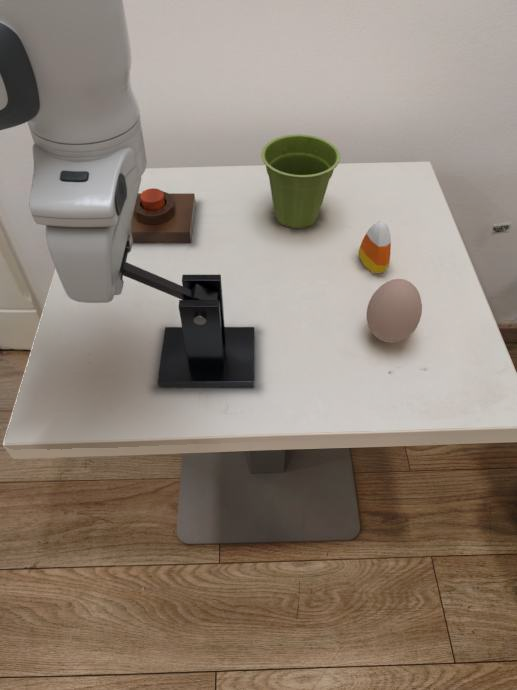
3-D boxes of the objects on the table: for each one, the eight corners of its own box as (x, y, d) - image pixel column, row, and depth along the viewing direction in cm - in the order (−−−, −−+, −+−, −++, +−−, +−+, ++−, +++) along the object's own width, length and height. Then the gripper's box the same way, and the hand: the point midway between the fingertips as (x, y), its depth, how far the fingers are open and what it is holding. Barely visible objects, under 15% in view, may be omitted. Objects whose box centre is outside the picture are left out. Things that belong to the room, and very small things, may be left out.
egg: (421, 347, 69) (441, 296, 61) (375, 360, 67) (390, 310, 60) (397, 311, 73) (413, 259, 65) (353, 322, 72) (364, 271, 64)
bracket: (158, 387, 65) (140, 320, 55) (166, 332, 70) (151, 262, 60) (254, 387, 65) (253, 320, 55) (254, 332, 70) (254, 262, 60)
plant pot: (346, 215, 86) (356, 153, 78) (298, 248, 81) (304, 186, 72) (293, 185, 92) (297, 125, 83) (246, 215, 86) (244, 153, 77)
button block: (115, 243, 82) (109, 222, 79) (125, 204, 88) (120, 184, 85) (191, 243, 82) (188, 222, 79) (195, 204, 88) (193, 184, 85)
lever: (103, 286, 54) (111, 272, 52) (111, 254, 57) (119, 240, 55) (206, 327, 59) (216, 315, 57) (208, 296, 62) (218, 283, 60)
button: (140, 211, 81) (138, 202, 80) (143, 197, 83) (141, 188, 82) (163, 211, 81) (162, 202, 80) (166, 197, 83) (164, 188, 82)
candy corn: (391, 273, 78) (403, 231, 71) (374, 279, 77) (385, 237, 71) (369, 249, 81) (379, 207, 75) (353, 255, 80) (361, 213, 74)
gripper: (80, 90, 51) (107, 208, 61) (21, 221, 38) (68, 341, 48) (145, 92, 51) (160, 209, 62) (108, 224, 38) (136, 342, 49)
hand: (119, 268), depth 55 cm, fingers closed on lever, 5 cm apart
